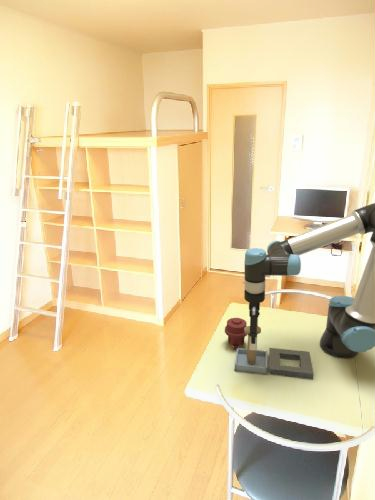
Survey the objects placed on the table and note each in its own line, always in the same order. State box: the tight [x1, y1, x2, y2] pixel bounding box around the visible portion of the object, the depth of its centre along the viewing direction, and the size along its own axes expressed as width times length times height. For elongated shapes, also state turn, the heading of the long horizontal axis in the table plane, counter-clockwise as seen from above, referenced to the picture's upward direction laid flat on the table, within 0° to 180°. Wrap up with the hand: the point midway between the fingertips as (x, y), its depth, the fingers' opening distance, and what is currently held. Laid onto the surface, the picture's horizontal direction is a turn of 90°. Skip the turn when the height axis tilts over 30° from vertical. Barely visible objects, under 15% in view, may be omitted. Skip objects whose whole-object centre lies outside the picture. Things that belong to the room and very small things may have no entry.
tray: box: [234, 347, 268, 376], centre depth 141 cm, size 12×11×3 cm
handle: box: [244, 325, 262, 364], centre depth 139 cm, size 5×6×15 cm
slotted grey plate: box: [268, 347, 315, 380], centre depth 140 cm, size 16×14×2 cm
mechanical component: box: [224, 317, 248, 350], centre depth 152 cm, size 12×10×10 cm
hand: (253, 339), depth 138 cm, fingers open, 13 cm apart
